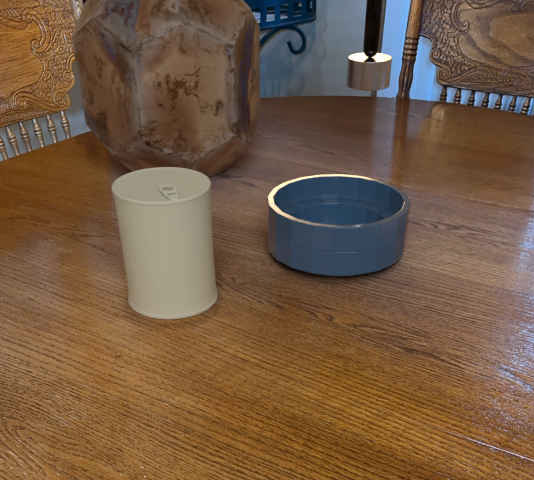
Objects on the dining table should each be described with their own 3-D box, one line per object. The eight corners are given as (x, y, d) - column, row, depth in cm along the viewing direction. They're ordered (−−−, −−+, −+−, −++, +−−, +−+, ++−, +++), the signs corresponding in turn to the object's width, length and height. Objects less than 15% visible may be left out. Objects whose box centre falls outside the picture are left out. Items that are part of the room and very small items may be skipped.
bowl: (389, 223, 86) (395, 172, 82) (415, 280, 75) (423, 225, 71) (264, 226, 86) (264, 175, 81) (271, 284, 74) (271, 229, 70)
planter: (274, 148, 108) (274, -44, 92) (229, 206, 90) (220, -18, 74) (139, 137, 112) (118, -48, 96) (71, 191, 94) (31, -24, 78)
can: (142, 328, 67) (125, 203, 59) (117, 287, 74) (98, 169, 66) (231, 308, 70) (226, 187, 62) (200, 270, 77) (191, 155, 68)
